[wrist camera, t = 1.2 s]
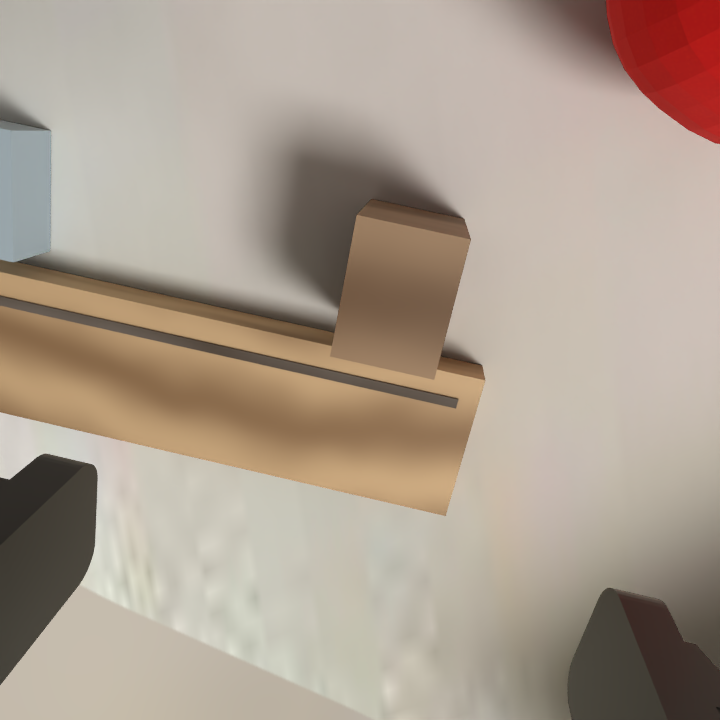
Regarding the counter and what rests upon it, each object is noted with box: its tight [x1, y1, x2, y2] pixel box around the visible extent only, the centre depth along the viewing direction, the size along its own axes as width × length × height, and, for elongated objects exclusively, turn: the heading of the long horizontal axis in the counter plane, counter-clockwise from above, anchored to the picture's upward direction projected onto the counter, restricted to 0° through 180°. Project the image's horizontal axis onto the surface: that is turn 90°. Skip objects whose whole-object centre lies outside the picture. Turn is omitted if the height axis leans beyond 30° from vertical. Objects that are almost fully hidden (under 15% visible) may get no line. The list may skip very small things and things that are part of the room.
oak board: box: [0, 260, 485, 516], centre depth 32 cm, size 8×26×2 cm, turn 79°
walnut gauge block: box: [330, 199, 471, 380], centre depth 27 cm, size 6×4×6 cm
